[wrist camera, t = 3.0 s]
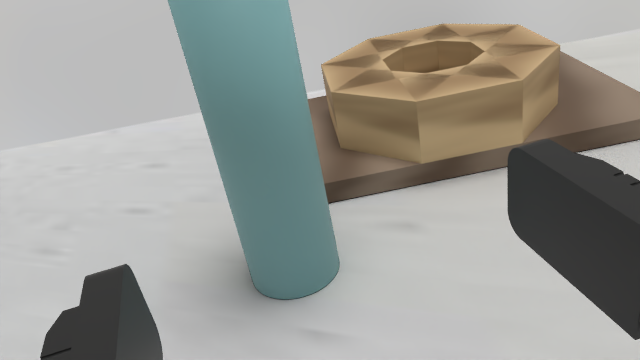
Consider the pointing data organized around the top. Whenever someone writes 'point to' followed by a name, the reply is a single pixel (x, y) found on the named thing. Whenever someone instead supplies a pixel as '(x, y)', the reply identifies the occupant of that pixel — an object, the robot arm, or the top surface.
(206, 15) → the teal bottle
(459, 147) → the tan octagonal ring
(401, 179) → the board
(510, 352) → the top surface
